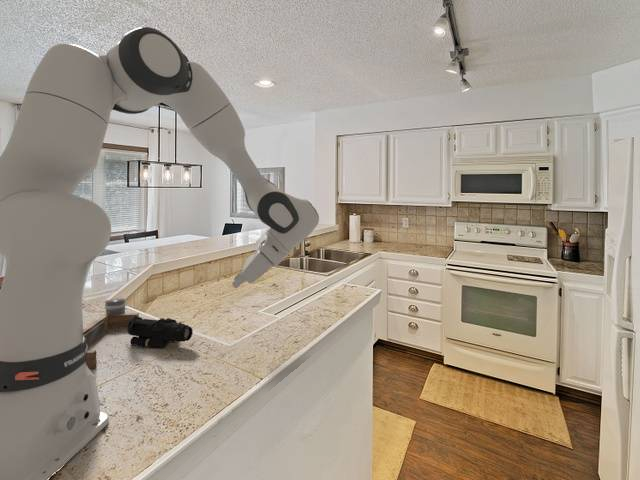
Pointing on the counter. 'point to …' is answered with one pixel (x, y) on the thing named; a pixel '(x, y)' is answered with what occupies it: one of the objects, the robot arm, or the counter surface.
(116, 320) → the bracket
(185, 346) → the counter surface
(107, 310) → the gray domed cylinder
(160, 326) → the night vision scope
